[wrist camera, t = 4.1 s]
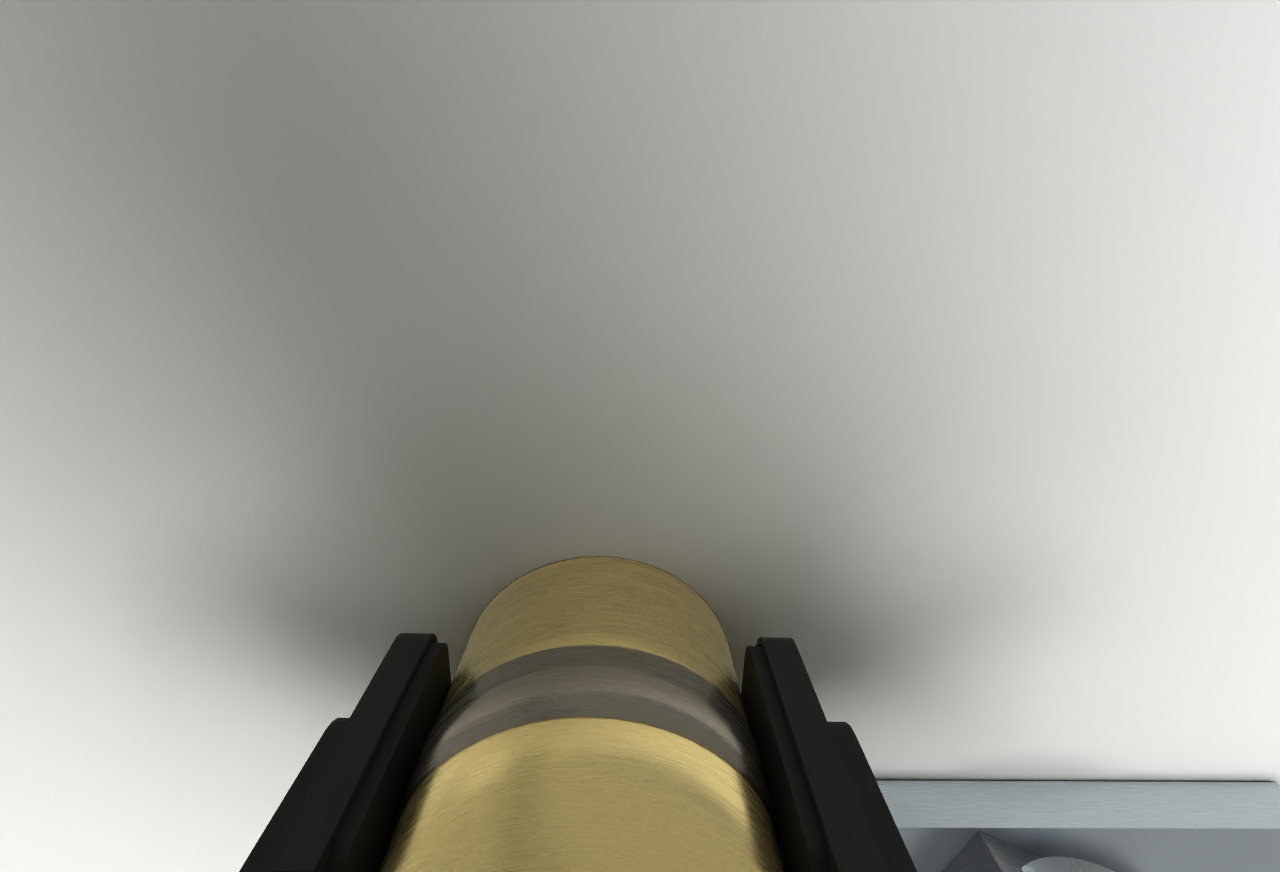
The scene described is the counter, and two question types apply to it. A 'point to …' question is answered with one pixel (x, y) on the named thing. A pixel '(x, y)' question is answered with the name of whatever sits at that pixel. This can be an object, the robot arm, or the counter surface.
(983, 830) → the shaft bench
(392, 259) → the counter surface
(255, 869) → the robot arm
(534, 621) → the cylinder
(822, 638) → the counter surface
